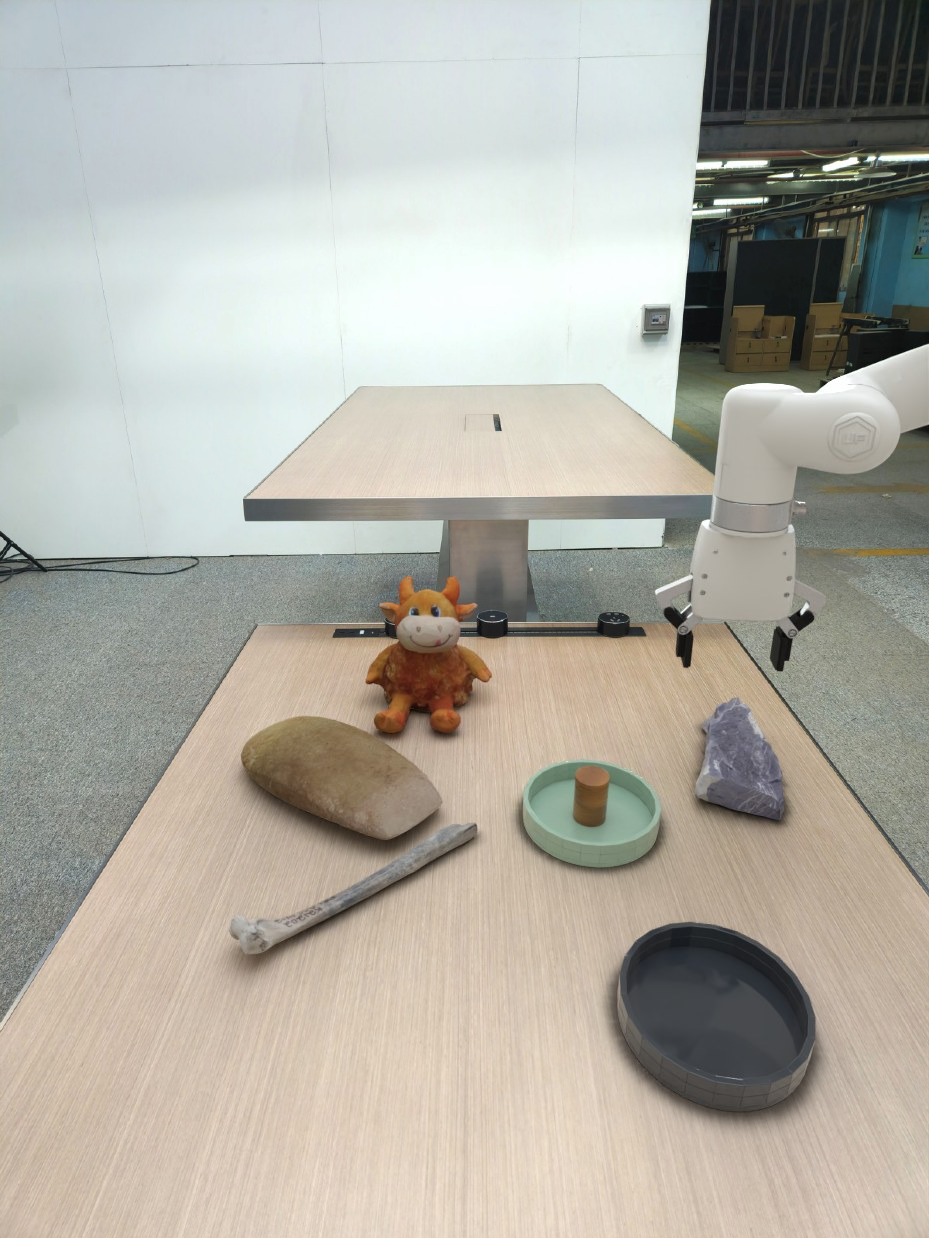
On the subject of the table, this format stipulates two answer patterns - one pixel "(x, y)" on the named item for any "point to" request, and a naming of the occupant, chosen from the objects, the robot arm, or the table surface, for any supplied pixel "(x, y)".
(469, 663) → the toy
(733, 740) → the rock
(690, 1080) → the slate bowl
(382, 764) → the stone
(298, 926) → the bone
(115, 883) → the table surface
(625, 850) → the green bowl
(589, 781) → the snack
